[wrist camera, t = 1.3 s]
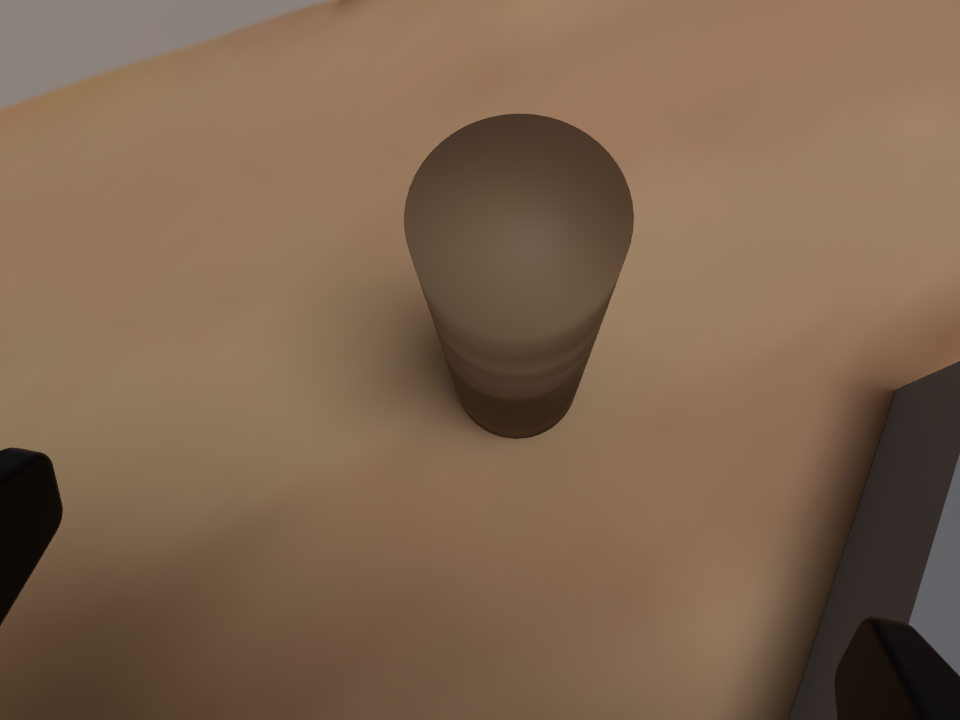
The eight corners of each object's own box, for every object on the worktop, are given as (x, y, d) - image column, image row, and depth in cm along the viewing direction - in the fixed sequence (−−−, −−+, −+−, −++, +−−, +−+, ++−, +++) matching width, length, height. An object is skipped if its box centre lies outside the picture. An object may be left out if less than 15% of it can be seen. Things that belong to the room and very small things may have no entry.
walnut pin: (548, 458, 22) (580, 361, 11) (436, 409, 22) (366, 272, 12) (595, 348, 23) (667, 159, 12) (486, 303, 23) (461, 83, 12)
